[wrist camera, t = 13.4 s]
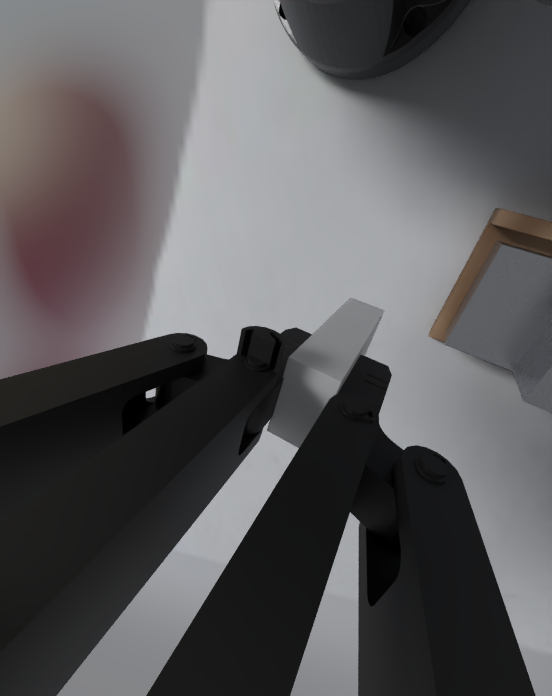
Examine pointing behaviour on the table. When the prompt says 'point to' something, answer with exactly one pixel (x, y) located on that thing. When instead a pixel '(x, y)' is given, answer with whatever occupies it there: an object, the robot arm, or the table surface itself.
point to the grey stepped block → (511, 319)
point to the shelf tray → (502, 228)
